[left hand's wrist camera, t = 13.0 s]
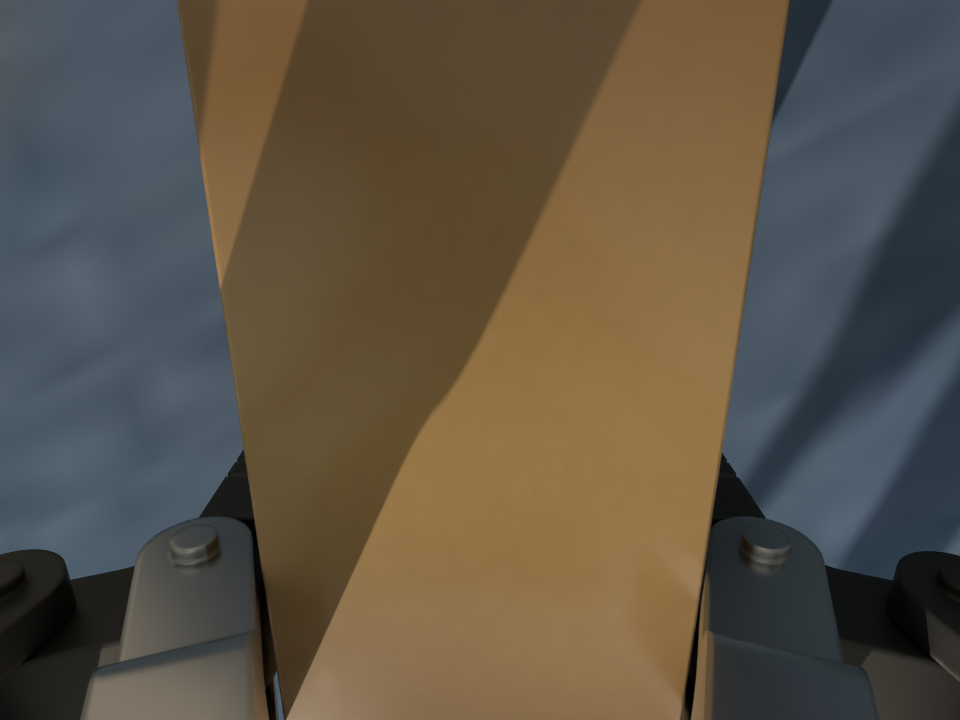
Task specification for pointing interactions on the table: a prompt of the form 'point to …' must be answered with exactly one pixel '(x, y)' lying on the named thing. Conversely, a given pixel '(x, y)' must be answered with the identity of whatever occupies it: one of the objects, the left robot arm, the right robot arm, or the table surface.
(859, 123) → the table surface
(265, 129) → the post
